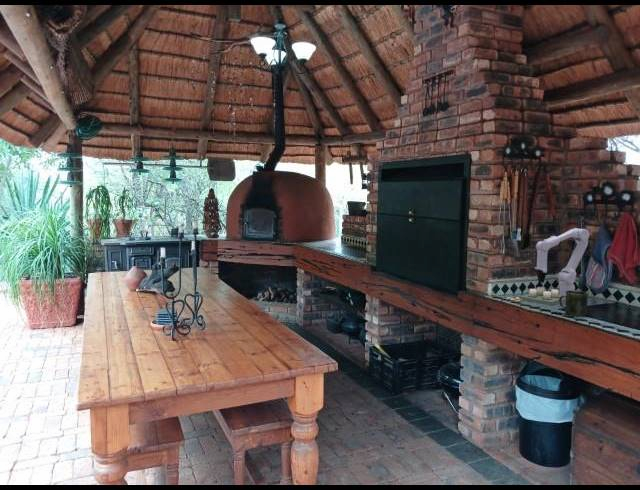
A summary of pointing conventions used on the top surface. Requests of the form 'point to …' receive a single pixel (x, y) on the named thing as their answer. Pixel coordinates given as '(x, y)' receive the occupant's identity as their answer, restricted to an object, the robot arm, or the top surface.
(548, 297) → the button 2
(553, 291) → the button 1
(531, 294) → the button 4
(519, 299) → the tile
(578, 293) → the mug
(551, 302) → the grey-green board with holes
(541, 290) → the beige cylinder
